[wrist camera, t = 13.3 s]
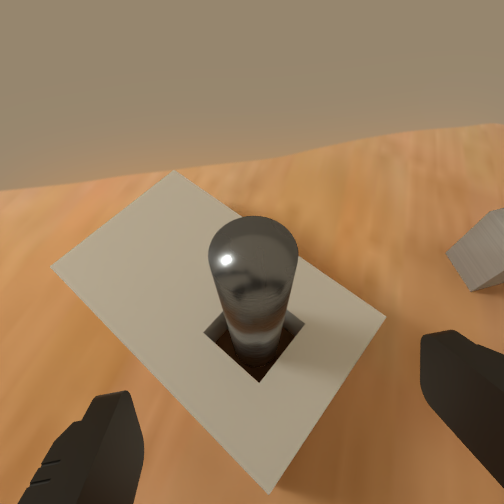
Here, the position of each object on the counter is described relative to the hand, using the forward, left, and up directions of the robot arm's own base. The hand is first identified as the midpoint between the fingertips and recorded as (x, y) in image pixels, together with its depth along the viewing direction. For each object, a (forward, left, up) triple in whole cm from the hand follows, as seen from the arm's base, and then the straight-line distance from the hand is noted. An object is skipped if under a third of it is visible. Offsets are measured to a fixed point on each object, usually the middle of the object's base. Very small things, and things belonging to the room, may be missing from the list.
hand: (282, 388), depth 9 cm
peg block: (-8, +3, -14) cm, 17 cm away
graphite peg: (-4, +3, -14) cm, 15 cm away
